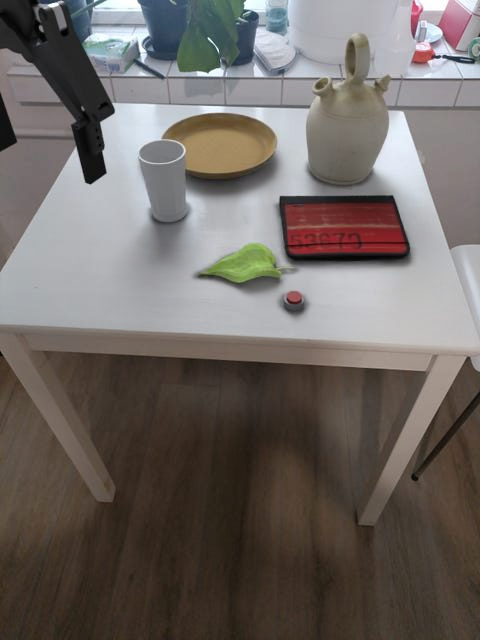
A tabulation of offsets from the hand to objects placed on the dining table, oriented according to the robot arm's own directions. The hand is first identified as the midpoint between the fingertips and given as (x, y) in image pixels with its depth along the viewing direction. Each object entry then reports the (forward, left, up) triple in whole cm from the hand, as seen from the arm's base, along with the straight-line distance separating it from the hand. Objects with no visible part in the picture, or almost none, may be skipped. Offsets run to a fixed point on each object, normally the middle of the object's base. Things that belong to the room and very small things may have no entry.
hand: (49, 161), depth 56 cm
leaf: (+24, +1, -25) cm, 34 cm away
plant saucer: (+31, +36, -25) cm, 53 cm away
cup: (+16, +20, -25) cm, 35 cm away
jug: (+52, +22, -25) cm, 62 cm away
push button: (+28, -9, -25) cm, 39 cm away
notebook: (+43, +4, -25) cm, 50 cm away
